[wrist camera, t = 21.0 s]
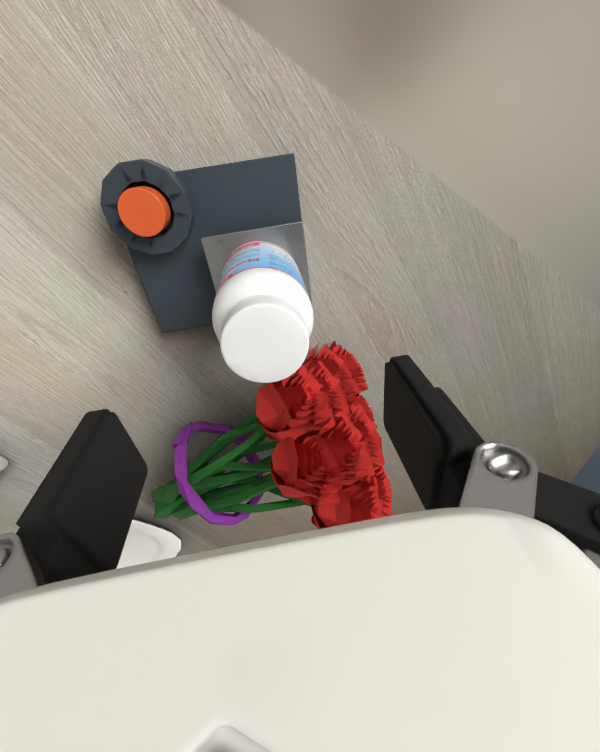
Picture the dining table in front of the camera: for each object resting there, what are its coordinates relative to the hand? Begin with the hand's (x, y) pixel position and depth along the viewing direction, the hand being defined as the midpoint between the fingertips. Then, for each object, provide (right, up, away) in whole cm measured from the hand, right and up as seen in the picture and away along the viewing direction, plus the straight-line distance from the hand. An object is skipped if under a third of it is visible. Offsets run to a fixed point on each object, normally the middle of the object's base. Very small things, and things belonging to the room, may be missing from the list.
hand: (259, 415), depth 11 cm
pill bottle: (-2, +9, +15) cm, 17 cm away
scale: (-5, +12, +17) cm, 22 cm away
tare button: (-9, +13, +12) cm, 20 cm away
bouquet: (-5, -5, +28) cm, 29 cm away
